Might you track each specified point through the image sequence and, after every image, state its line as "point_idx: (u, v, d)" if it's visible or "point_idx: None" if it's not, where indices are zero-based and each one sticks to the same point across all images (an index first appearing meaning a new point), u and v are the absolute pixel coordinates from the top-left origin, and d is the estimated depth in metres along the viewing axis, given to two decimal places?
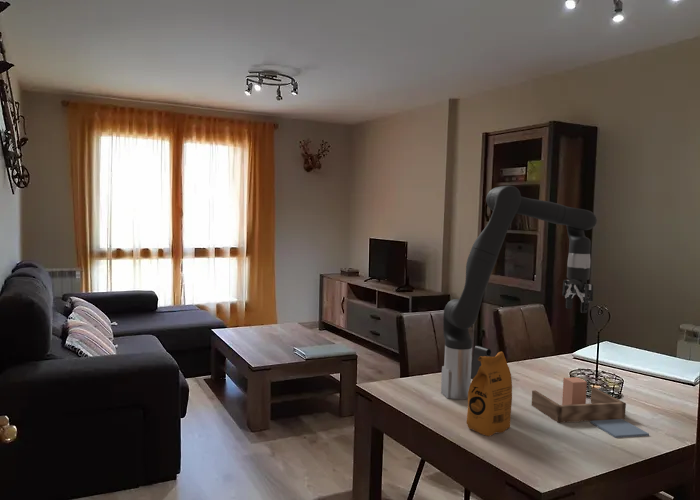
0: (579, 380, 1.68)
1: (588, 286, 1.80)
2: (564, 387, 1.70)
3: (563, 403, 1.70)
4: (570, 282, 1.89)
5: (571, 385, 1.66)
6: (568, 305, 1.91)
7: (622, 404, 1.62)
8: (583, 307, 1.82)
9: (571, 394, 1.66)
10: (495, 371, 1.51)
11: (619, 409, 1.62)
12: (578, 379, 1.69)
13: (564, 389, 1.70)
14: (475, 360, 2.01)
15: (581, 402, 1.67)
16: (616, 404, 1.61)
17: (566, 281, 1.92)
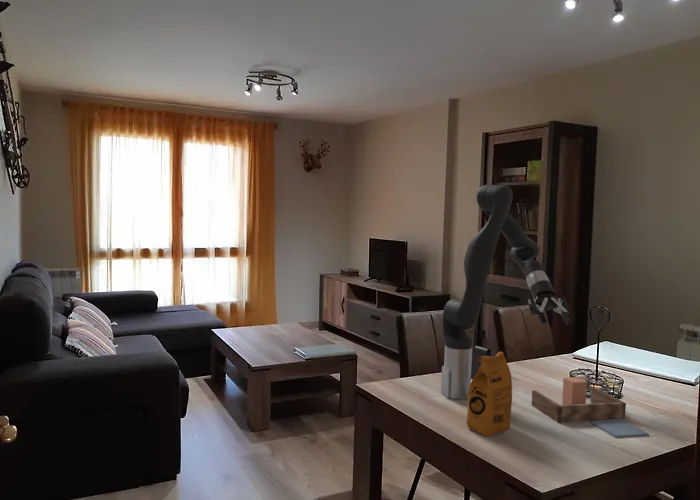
0: (579, 380, 1.68)
1: None
2: (564, 387, 1.70)
3: (563, 403, 1.70)
4: (540, 298, 1.84)
5: (571, 385, 1.66)
6: None
7: (622, 404, 1.62)
8: (568, 317, 1.80)
9: (571, 394, 1.66)
10: (495, 371, 1.51)
11: (619, 409, 1.62)
12: (578, 379, 1.69)
13: (564, 389, 1.70)
14: (475, 360, 2.01)
15: (581, 402, 1.67)
16: (616, 404, 1.61)
17: None
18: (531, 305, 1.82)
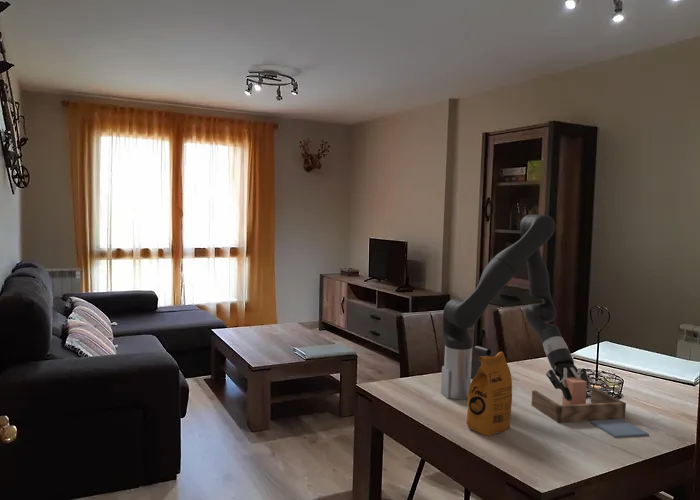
0: (579, 380, 1.68)
1: None
2: None
3: (563, 403, 1.70)
4: (558, 367, 1.73)
5: (571, 385, 1.66)
6: None
7: (622, 404, 1.62)
8: None
9: (571, 394, 1.66)
10: (495, 371, 1.51)
11: (619, 409, 1.62)
12: (578, 379, 1.69)
13: None
14: (475, 360, 2.01)
15: (581, 402, 1.66)
16: (616, 404, 1.61)
17: None
18: (553, 379, 1.70)
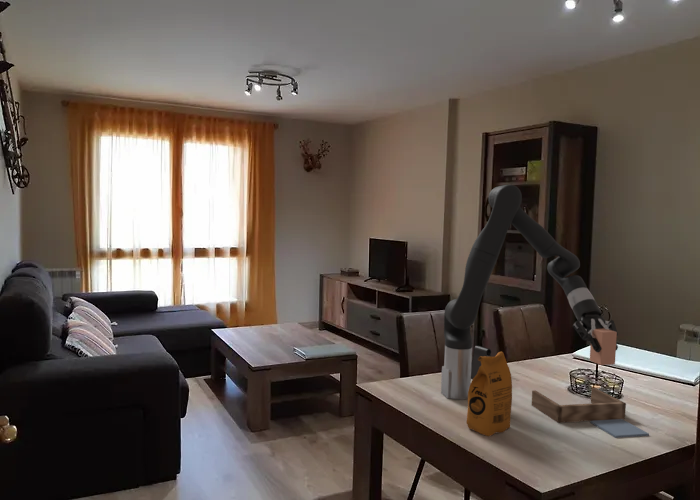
0: (608, 330, 1.59)
1: None
2: None
3: (591, 355, 1.61)
4: (586, 319, 1.63)
5: (600, 335, 1.57)
6: None
7: (622, 404, 1.62)
8: None
9: (600, 345, 1.57)
10: (495, 371, 1.51)
11: (619, 409, 1.62)
12: (607, 330, 1.60)
13: None
14: (475, 360, 2.01)
15: (611, 353, 1.58)
16: (616, 404, 1.61)
17: None
18: (580, 330, 1.61)
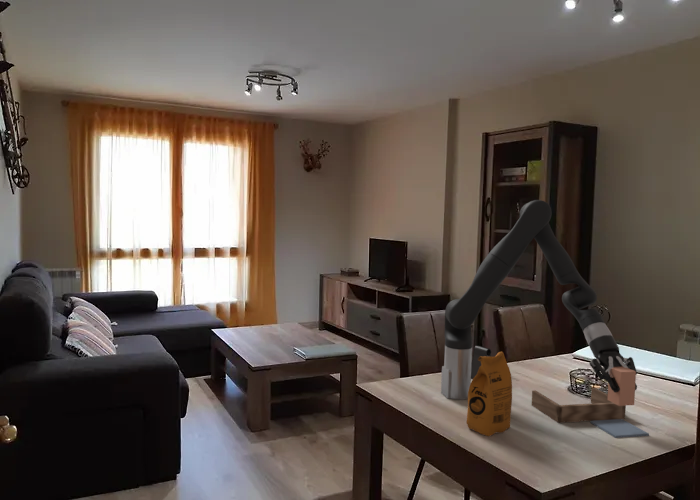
0: (627, 369, 1.52)
1: None
2: None
3: (609, 395, 1.55)
4: (603, 356, 1.57)
5: (619, 375, 1.51)
6: None
7: None
8: None
9: (619, 385, 1.51)
10: (495, 371, 1.51)
11: (619, 409, 1.62)
12: (626, 368, 1.53)
13: None
14: (475, 360, 2.01)
15: (630, 394, 1.51)
16: None
17: None
18: (597, 369, 1.54)
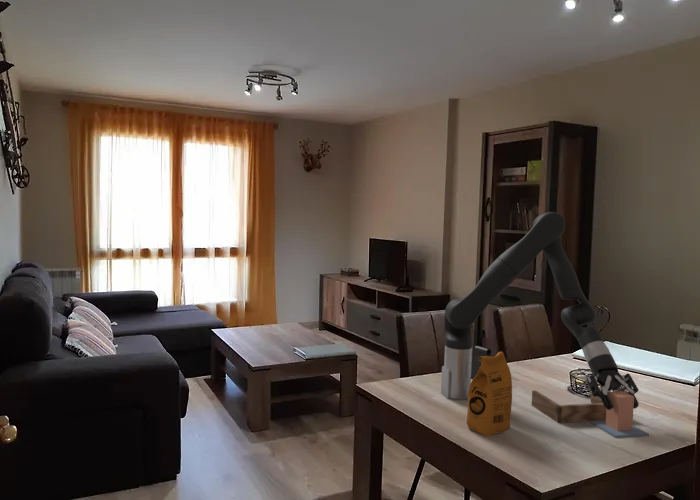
0: (625, 394, 1.53)
1: None
2: None
3: (607, 419, 1.55)
4: (602, 375, 1.57)
5: (617, 400, 1.51)
6: None
7: None
8: (635, 399, 1.54)
9: (617, 410, 1.51)
10: (495, 371, 1.51)
11: None
12: (624, 393, 1.54)
13: None
14: (475, 360, 2.01)
15: (628, 419, 1.52)
16: None
17: None
18: (592, 385, 1.55)
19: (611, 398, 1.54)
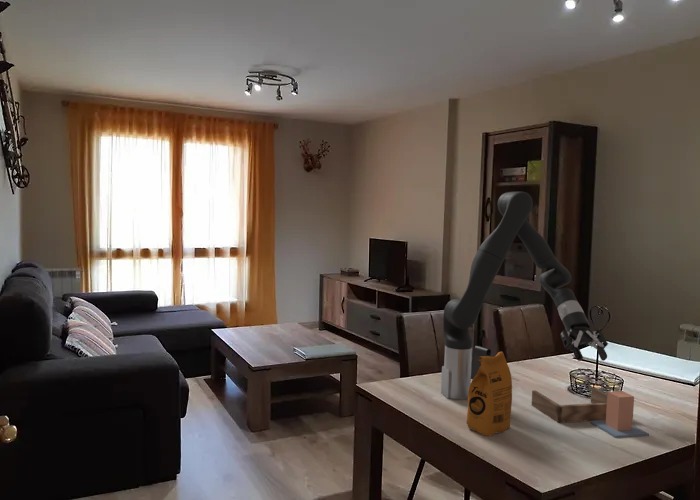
0: (625, 394, 1.53)
1: None
2: (608, 402, 1.55)
3: (607, 419, 1.55)
4: (574, 331, 1.70)
5: (617, 400, 1.51)
6: None
7: None
8: (604, 352, 1.66)
9: (617, 410, 1.51)
10: (495, 371, 1.51)
11: None
12: (624, 393, 1.54)
13: (608, 404, 1.55)
14: (475, 360, 2.01)
15: (628, 419, 1.52)
16: None
17: None
18: (565, 339, 1.68)
19: (611, 398, 1.54)
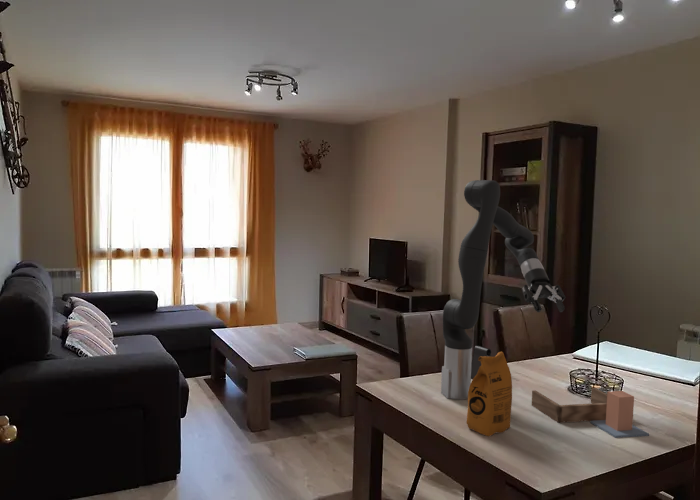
0: (625, 394, 1.53)
1: None
2: (608, 402, 1.55)
3: (607, 419, 1.55)
4: (535, 285, 1.82)
5: (617, 400, 1.51)
6: None
7: None
8: (562, 304, 1.79)
9: (617, 410, 1.51)
10: (495, 371, 1.51)
11: None
12: (624, 393, 1.54)
13: (608, 404, 1.55)
14: (475, 360, 2.01)
15: (628, 419, 1.52)
16: None
17: None
18: (525, 293, 1.80)
19: (611, 398, 1.54)
